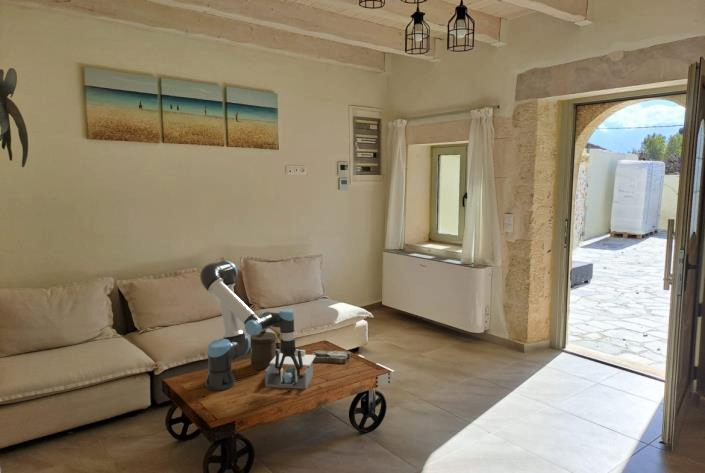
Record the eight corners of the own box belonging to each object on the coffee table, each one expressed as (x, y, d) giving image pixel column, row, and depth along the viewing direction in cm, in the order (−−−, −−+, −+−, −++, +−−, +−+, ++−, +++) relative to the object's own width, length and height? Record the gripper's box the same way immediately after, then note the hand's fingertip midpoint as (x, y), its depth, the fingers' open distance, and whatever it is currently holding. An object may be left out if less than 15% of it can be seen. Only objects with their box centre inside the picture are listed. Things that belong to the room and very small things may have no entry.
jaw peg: (281, 386, 250) (281, 375, 250) (284, 382, 255) (284, 371, 255) (291, 386, 250) (291, 375, 249) (293, 382, 255) (293, 371, 254)
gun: (347, 359, 283) (350, 350, 297) (307, 357, 286) (312, 348, 301) (347, 365, 283) (350, 356, 298) (307, 363, 287) (312, 354, 301)
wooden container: (261, 359, 292) (260, 324, 290) (281, 363, 286) (280, 327, 283) (245, 367, 279) (244, 331, 276) (266, 371, 272) (265, 334, 270)
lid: (269, 364, 257) (269, 358, 257) (277, 354, 272) (277, 348, 272) (309, 366, 254) (309, 360, 254) (315, 356, 269) (315, 350, 269)
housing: (265, 388, 250) (264, 370, 249) (274, 376, 266) (273, 359, 265) (305, 390, 247) (305, 373, 246) (312, 378, 263) (312, 361, 262)
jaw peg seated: (285, 380, 258) (285, 369, 257) (287, 376, 263) (287, 366, 262) (294, 380, 257) (294, 370, 256) (297, 377, 262) (297, 366, 262)
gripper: (266, 341, 248) (269, 383, 250) (304, 341, 245) (306, 384, 247) (271, 336, 255) (273, 377, 257) (308, 337, 252) (310, 378, 255)
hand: (289, 381), depth 252 cm, fingers open, 7 cm apart
